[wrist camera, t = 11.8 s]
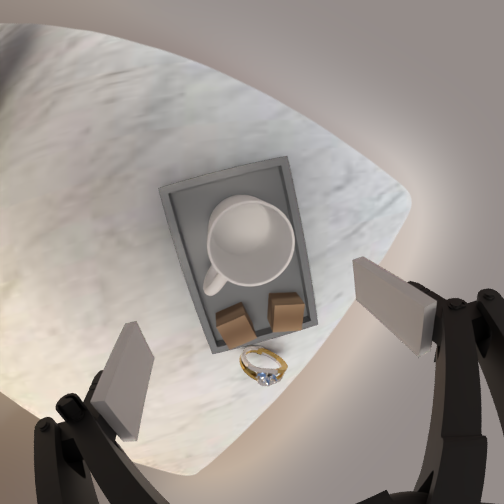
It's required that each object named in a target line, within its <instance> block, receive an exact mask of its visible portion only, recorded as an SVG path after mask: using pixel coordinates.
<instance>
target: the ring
mask: <svg viewBox="0 0 504 504" xmlns="http://www.w3.org/2000/svg"><path fill="white" fill-rule="evenodd" d="M251 352H256V353H257V354H260V355H261V354H264V355H266V356H268V357H270V358H271V359H273V360H274V361H275V362H276V363H277V364H278V365H279V367H280V368H278V369H269V368H259V367H256V366H253V365H252V364H251V363H250V362H249V361H248V360H247V358H246V354H248V353H251ZM240 365H241V367H242V369H243V370H244V372H245V373H246V374H247V375H248V376H250V377H251V378H253V379H254V380H256V381H257V382H258V383H259V384H260V385H262V386H270V385H272V384H275V383H277V382H279V381H280V380H281V379H282V378H283V376H284V374H285V371H286V370H287V368H288V366H287V364H286V362H285V361H284V360H283V359H282V358H281V357H279V356H278V355H276V354H275V353H273V352H271V351H269V350H267V349H264V348H263V347H261V346H258V347H257V346H249V347H246V348H245V349H244V350H243V352H242V353H241V355H240ZM254 371H255V372H257V373H255V372H254ZM278 373H280V375H279V376H278V377H276V376H275V375H277V374H278ZM270 378H271V380H270Z"/></svg>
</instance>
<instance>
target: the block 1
mask: <svg viewBox="0 0 504 504" xmlns="http://www.w3.org/2000/svg"><path fill="white" fill-rule="evenodd" d="M216 328H217V329H218V331H219V333H220V334H221V336H222V338H223V339H224V341H225V343H226V344H227V346H228V348H229V349H233V348H235V347H237V346H240V345H242V344H245V343H247V342H249V341H252V340H254V339H256V338H257V337H256V333H255V330H254V326H253V323H252V321H251V319H250V317H249V316H248V314H247V312H246V310H245V308H244V306H243V304H242V302H239V303H237V304H235V305H233V306H230V307H228V308H226V309H223V310H221V311H219V312H216Z"/></svg>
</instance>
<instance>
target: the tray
mask: <svg viewBox="0 0 504 504" xmlns="http://www.w3.org/2000/svg"><path fill="white" fill-rule="evenodd" d="M158 189H159V193H160V197H161V200H162V204H163V208H164V211H165V215H166V218H167V222H168V225H169V229H170V232H171V236H172V239H173V242H174V246H175V249H176V252H177V255H178V258H179V262H180V265H181V268H182V271H183V274H184V277H185V280H186V283H187V286H188V289H189V292H190V295H191V298H192V300H193V303H194V306H195V309H196V312H197V314H198V317H199V320H200V323H201V325H202V328H203V331H204V333H205V336H206V339H207V341H208V344H209V346H210V349H211V352H212V354H216V353H220V352H224V351H228V350H232V349H229V348H228V346H227V344H226V343H225V341H224V339H223V338H222V336H221V334H220V333H219V331H218V329H217V328H216V312H219V311H221V310H223V309H226V308H228V307H230V306H233V305H235V304H237V303H239V302H242V304H243V306H244V308H245V310H246V312H247V314H248V316H249V317H250V319H251V321H252V323H253V326H254V330H255V333H256V337H257V338H256V339H254V340H252V341H249V342H247V343H245V344H242V345H240V346H237V347H235V348H233V349H236V348H240V347H244V346H248V345H251V344H255V343H259V342H262V341H266V340H269V339H273V338H276V337H280V336H283V335H287V334H290V333H293V332H296V331H286V332H273V331H272V329H271V326H270V324H269V321H268V319H267V313H268V297H269V293H286V292H296V293H297V294H298V295H299V297H300V298H301V299H302V301H303V302H304V304H305V307H304V315H303V323H302V330H303V329H306V328H309V327H312V326H315V325H318V320H317V313H316V306H315V299H314V293H313V286H312V280H311V274H310V268H309V262H308V256H307V251H306V245H305V239H304V234H303V229H302V223H301V218H300V213H299V208H298V203H297V198H296V194H295V189H294V184H293V179H292V175H291V170H290V166H289V161H288V157H287V156H284V157H279V158H274V159H269V160H265V161H260V162H255V163H251V164H246V165H242V166H238V167H234V168H229V169H225V170H221V171H217V172H213V173H210V174H206V175H202V176H198V177H195V178H191V179H188V180H184V181H181V182H177V183H174V184H170V185H167V186H164V187H160V188H158ZM234 195H250V196H253V197H256V198H258V199H260V200H263V201H265V202H267V203H269V204H271V205H273V206H275V207H277V208H278V209H279V210H280V211H282V212H283V213H284V214H285V216H286V217H287V218H288V220H289V221H290V223H291V225H292V228H293V231H294V236H295V247H294V253H293V256H292V259H291V261H290V263H289V264H288V266H287V267H286V269H285V270H284V271H283V272H282V273H281V274H280V275H279V276H278V277H277V278H275V279H274V280H272V281H270V282H268V283H266V284H263V285H259V286H240V285H236V284H234V283H231V282H229V281H227V282H226V283H225V285H224V286H223V287H222V288H221V290H220V291H219V292H218V293H216V294H215V295H213V296H208V295H206V294H205V292H204V290H203V284H204V279H205V276H206V274H207V272H208V270H209V268H210V266H211V265H212V264H211V261H210V259H209V256H208V251H207V237H208V224H209V219H210V216H211V214H212V212H213V210H214V209H215V207H216V206H217V205H218V204H219V203H220V202H221V201H223V200H224V199H226V198H228V197H231V196H234ZM216 275H217V274H216ZM298 331H299V330H298Z"/></svg>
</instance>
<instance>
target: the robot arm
mask: <svg viewBox="0 0 504 504" xmlns="http://www.w3.org/2000/svg"><path fill="white" fill-rule="evenodd" d="M352 261H353V270H354V280H355V291H356V300H357V301H358V302H359V303H360V304H361V305H362V306H363V307H365V308H366V309H367V310H368V311H369V312H370V313H371V314H372V315H373V316H375V317H376V318H377V319H378V320H379V321H380V322H381V323H382V324H383V325H385V326H386V327H387V328H388V329H389V330H390V331H391V332H392V333H393V334H394V335H395V336H396V337H397V338H398V339H400V340H401V341H402V342H403V343H404V344H405V345H406V346H407V347H408V348H409V349H410V350H411V351H412V352H413V353H414V354H415V355H417V356H418V357H420V356H422V355H424V354H425V353H427V352H429V351H431V345H432V341H434V342H435V343H436V344H437V348H436V354H435V359H434V362H436V370H435V386H434V399H433V407H432V415H431V423H430V430H429V435H428V441H427V446H426V451H425V456H424V461H423V465H422V469H421V473H420V475H419V478H418V480H417V483H416V485H415V488H414V491H407V492H399V493H393V494H389V493H388V491H387V490H385V491H383V492H381V493H379V494H377V495H375V496H372V497H370V498H368V499H366V500H364V501H361V502H359V503H357V504H493V503H481V497H482V491H483V484H484V477H485V469H486V458H487V438H486V436H482V434H481V388H480V377H479V366H478V362H479V364H480V366H481V369H482V371H483V374H484V376H485V379H486V381H487V384H488V386H489V389H490V392H491V395H492V398H493V401H494V404H495V407H496V410H497V413H498V416H499V420H500V423H501V427H502V430H503V435H504V299H503V298H502V297H501V295H500V294H499V293H498V292H497V291H495V290H493V289H483V290H480V291H479V292H478V296H477V301H474V302H470V303H467V302H465V301H464V300H462V299H459V298H452V299H448V300H446V299H444V298H442V297H441V296H439V295H438V294H436V293H434V292H433V291H430V290H429V289H428V288H425V287H424V286H423V285H421V284H419V283H416V282H412V281H410V282H405V281H404V280H402V279H400V278H399V277H397V276H395V275H394V274H392V273H390V272H389V271H387V270H385V269H383V268H382V267H380V266H379V265H377V264H375V263H374V262H372V261H370V260H368V259H367V258H365V257H360V258H357V259H354V260H352ZM153 362H154V356H153V354H152V352H151V350H150V348H149V346H148V344H147V342H146V340H145V338H144V336H143V334H142V332H141V330H140V328H139V326H138V324H137V321H134V322H130V323H126V324H125V325H124V327H123V329H122V331H121V333H120V335H119V338H118V340H117V342H116V344H115V346H114V348H113V350H112V352H111V355H110V357H109V359H108V361H107V363H106V366H105V368H104V370H101V371H99V372H98V374H97V375H96V376H95V377H94V379H93V381H92V385H91V386H90V388H89V391H88V393H87V395H86V397H85V400H84V402H82V400H81V399H80V398H79V396H78V395H77V394H74V393H70V394H67V395H65V396H63V397H62V398H60V400H59V401H58V402H57V404H56V411H57V412H58V413H59V414H60V415H61V417H62V418H63V419H64V420H65V422H61V423H58V424H57V423H56V422H55V421H54V420H53V419H52V418H51V417H45V418H43V419H41V420H39V421H38V423H37V424H36V426H35V430H34V467H35V468H34V469H35V485H36V494H37V503H38V504H99V502H98V499H97V495H96V492H95V489H94V485H93V482H92V478H91V474H90V471H91V473H92V475H93V477H94V478H95V480H96V482H97V483H98V485H99V487H100V488H101V490H102V491H103V493H104V495H105V496H106V498H107V499H108V501H109V502H110V504H169V502H168V501H167V500H166V499H165V498H164V497H163V496H162V495H161V494H160V493H159V492H158V491H157V490H156V489H155V488H154V487H153V486H152V485H151V484H150V482H149V481H148V480H147V479H146V478H145V477H144V476H143V475H142V473H141V472H140V471H139V470H138V469H137V467H136V466H135V465H134V464H133V462H132V461H131V460H130V459H129V457H128V456H127V455H126V453H125V452H124V451H123V449H122V448H121V447H120V445H119V444H118V443H117V442H116V441H115V439H116V435H118V436H119V437H120V439H121V440H122V441H123V442H125V441H137V439H138V434H139V428H140V423H141V417H142V412H143V407H144V402H145V397H146V393H147V388H148V384H149V379H150V375H151V370H152V366H153Z"/></svg>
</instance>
